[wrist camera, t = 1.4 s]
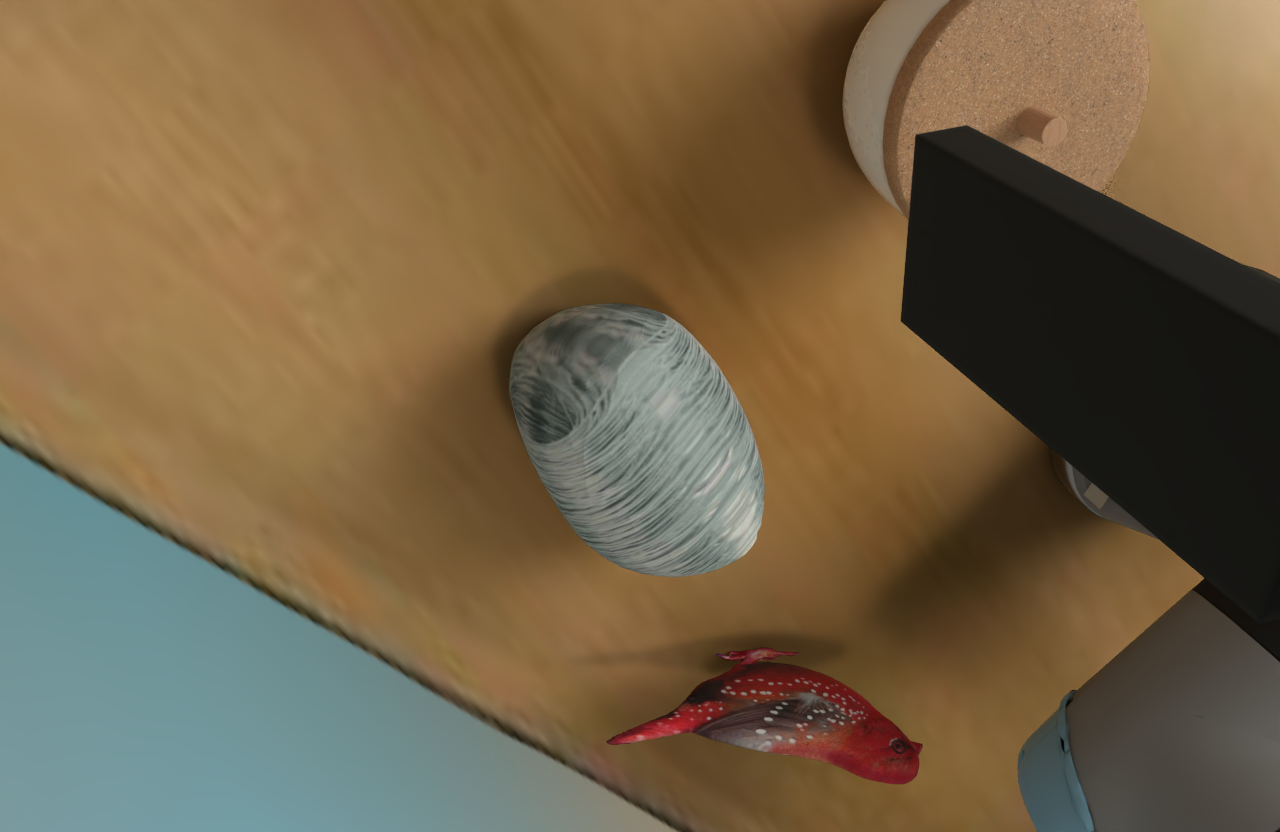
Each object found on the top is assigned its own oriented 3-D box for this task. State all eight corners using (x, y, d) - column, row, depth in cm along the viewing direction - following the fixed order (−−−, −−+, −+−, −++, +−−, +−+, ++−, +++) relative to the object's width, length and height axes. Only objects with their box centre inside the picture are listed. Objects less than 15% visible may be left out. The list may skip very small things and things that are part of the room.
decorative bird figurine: (845, 664, 64) (935, 796, 56) (566, 676, 57) (623, 828, 49) (861, 627, 63) (955, 756, 55) (578, 634, 56) (639, 784, 48)
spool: (425, 384, 42) (616, 489, 36) (577, 223, 45) (772, 298, 40) (541, 554, 52) (702, 655, 47) (657, 414, 55) (820, 493, 50)
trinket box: (805, 215, 47) (916, 304, 40) (794, -42, 41) (923, 6, 34) (1017, 159, 49) (1161, 234, 42) (1036, -93, 43) (1208, -59, 36)
